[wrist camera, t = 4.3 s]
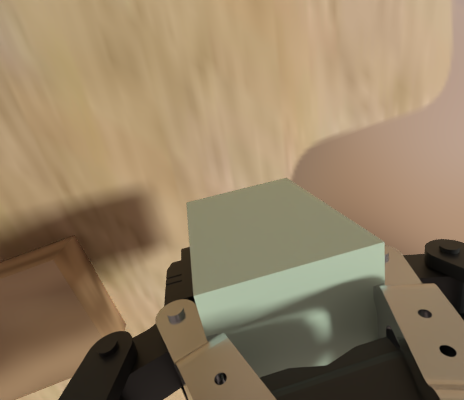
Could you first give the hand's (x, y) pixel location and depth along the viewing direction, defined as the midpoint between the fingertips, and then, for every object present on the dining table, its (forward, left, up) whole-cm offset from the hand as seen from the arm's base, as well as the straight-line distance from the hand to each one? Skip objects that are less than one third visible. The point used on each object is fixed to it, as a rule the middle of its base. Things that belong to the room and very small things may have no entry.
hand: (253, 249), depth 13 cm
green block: (0, 0, -1) cm, 1 cm away
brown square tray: (+5, -16, -10) cm, 19 cm away
